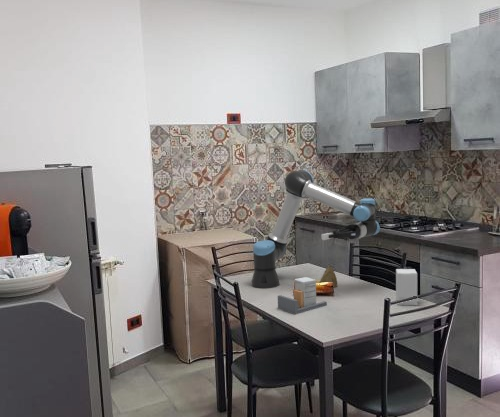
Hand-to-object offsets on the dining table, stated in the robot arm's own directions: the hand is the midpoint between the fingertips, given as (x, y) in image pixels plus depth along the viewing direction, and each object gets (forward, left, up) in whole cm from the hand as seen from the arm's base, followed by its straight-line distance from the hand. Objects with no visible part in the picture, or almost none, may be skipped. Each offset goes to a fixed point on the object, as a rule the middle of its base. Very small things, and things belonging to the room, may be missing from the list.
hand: (322, 237), depth 249 cm
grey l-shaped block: (+3, -16, -30) cm, 34 cm away
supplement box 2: (+32, +22, -30) cm, 49 cm away
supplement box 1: (+3, -15, -30) cm, 34 cm away
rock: (-14, +18, -30) cm, 38 cm away
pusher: (+3, -21, -30) cm, 37 cm away
